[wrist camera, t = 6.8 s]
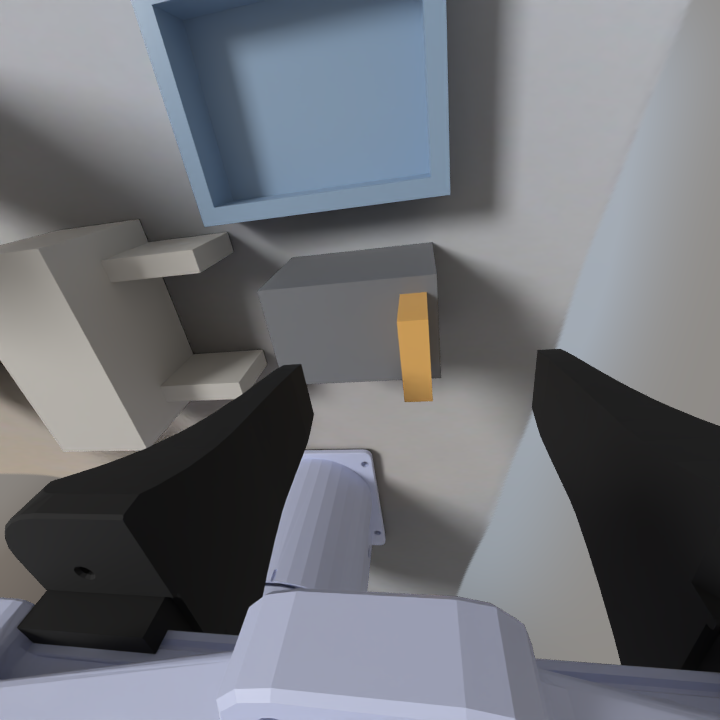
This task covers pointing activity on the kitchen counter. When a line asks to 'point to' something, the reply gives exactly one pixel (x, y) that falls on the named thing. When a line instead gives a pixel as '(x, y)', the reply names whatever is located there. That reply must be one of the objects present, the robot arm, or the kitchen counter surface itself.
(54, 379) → the bay
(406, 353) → the gray block with tab
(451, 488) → the kitchen counter surface
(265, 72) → the tray
